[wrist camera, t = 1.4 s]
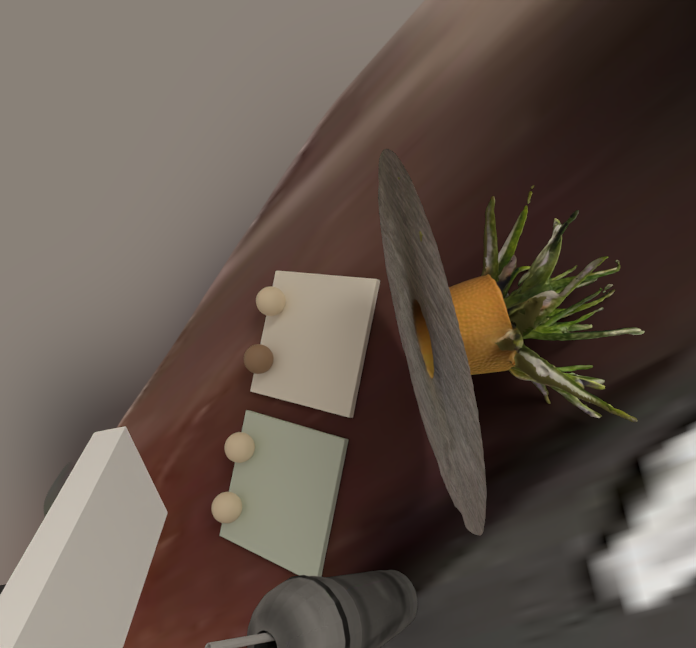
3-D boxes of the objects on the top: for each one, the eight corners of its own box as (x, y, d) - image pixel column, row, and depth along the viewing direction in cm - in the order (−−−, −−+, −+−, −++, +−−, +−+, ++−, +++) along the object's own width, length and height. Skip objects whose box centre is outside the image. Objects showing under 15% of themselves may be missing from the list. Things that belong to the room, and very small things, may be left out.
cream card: (279, 271, 62) (256, 263, 59) (380, 280, 54) (358, 271, 52) (254, 391, 61) (229, 388, 58) (353, 417, 53) (329, 416, 51)
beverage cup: (360, 643, 49) (164, 736, 33) (354, 551, 51) (166, 596, 35) (437, 652, 45) (258, 762, 29) (428, 552, 47) (254, 604, 31)
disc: (607, 533, 46) (888, 448, 24) (390, 563, 44) (483, 501, 22) (522, 268, 57) (662, 46, 35) (346, 281, 55) (378, 53, 33)
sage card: (250, 410, 61) (224, 408, 58) (348, 439, 53) (324, 438, 50) (223, 534, 60) (196, 539, 57) (320, 582, 52) (294, 590, 49)
